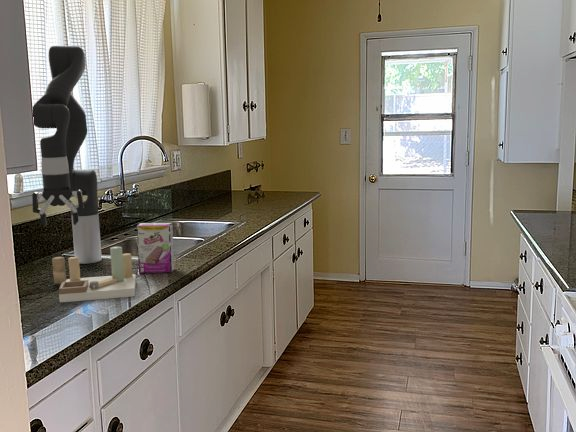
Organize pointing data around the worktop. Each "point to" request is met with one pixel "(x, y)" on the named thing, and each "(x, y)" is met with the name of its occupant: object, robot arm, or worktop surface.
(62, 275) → the loose leg
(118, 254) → the hinged leg
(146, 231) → the candy bar box
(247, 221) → the worktop surface
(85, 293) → the stool seat
